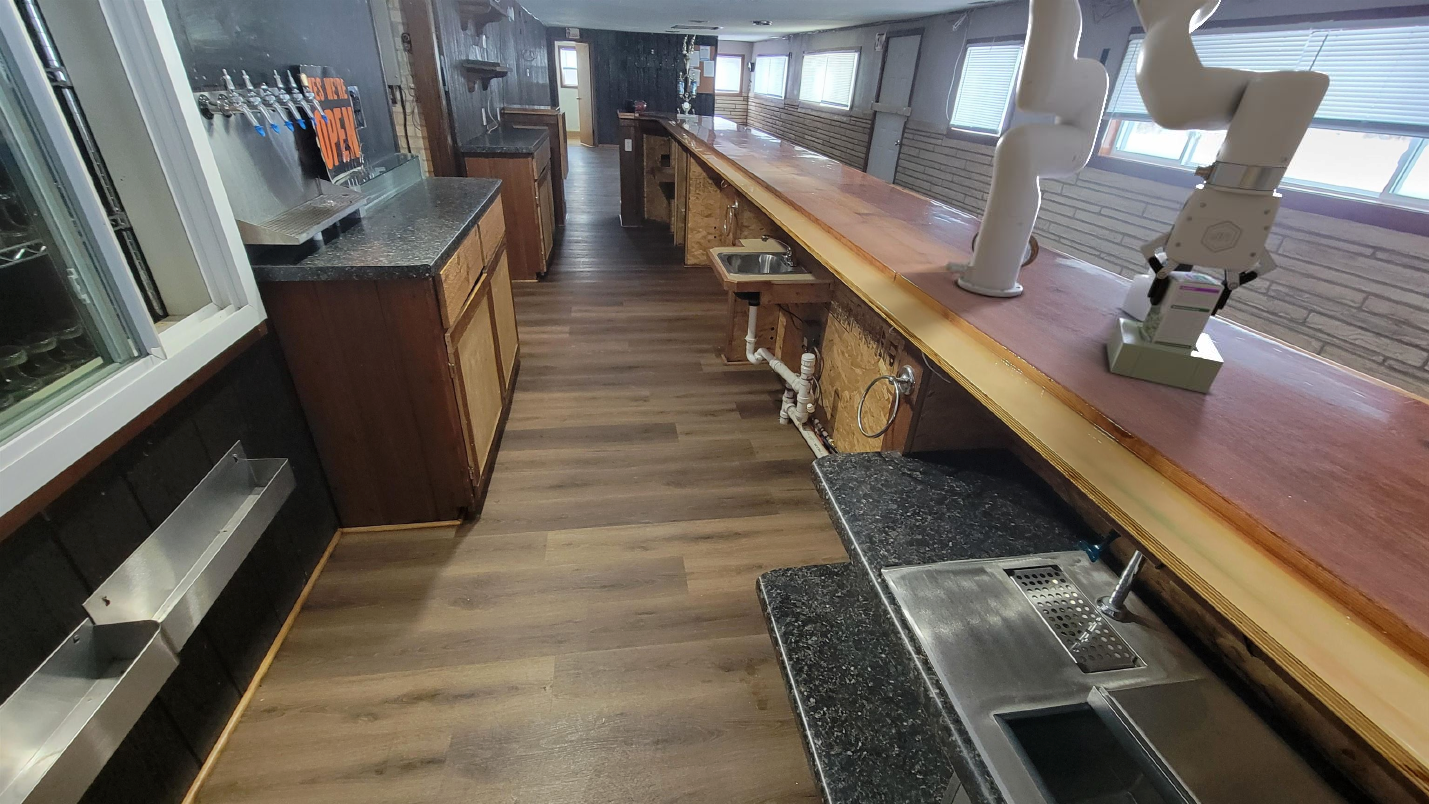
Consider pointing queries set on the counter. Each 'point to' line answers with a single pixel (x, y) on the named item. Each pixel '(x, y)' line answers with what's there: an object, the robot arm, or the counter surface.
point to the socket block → (1162, 359)
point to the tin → (1029, 253)
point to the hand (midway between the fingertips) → (1181, 307)
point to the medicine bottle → (1145, 291)
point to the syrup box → (1182, 310)
